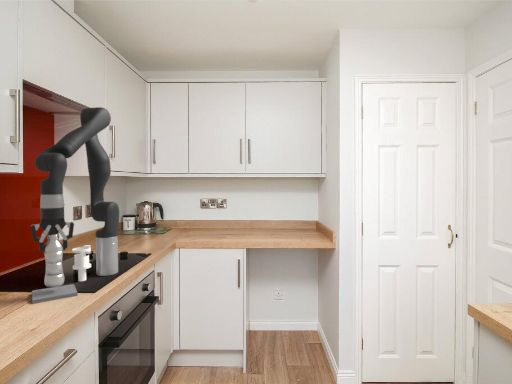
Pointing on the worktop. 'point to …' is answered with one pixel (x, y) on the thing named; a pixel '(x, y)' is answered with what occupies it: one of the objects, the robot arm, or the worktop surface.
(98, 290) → the worktop surface
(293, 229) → the worktop surface
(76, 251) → the white cylindrical piece
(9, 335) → the worktop surface
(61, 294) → the board
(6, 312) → the worktop surface
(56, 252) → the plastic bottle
